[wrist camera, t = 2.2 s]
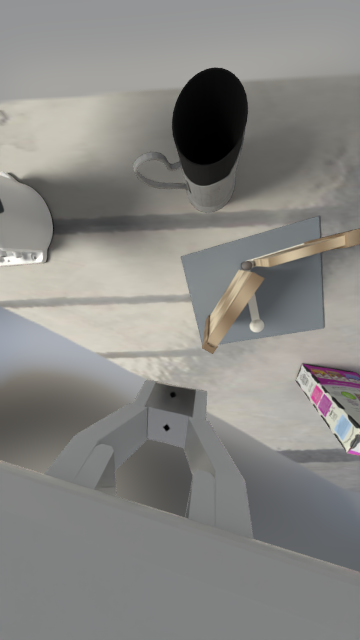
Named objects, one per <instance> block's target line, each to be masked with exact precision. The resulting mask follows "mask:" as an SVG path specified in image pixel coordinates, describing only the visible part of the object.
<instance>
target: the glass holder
mask: <svg viewBox="0 0 360 640" xmlns="http://www.w3.org/2000/svg"><path fill="white" fill-rule="evenodd" d="M247 115H248V103H247V97H246V93H245V90H244V87H243V85H242V84H241V82H240V80H239V79H238V78H237V77H236V76H235V75H234V74H233V73H231V72H230V71H228V70H225V69H223V68H209V69H206V70H204V71H201V72H200V73H198V74H196V75H195V76H194V77H193V78H192V79H190V80H189V81H188V83H187V84H186V85H185V87H184V88H183V89H182V91H181V93H180V95H179V97H178V99H177V102H176V104H175V108H174V112H173V119H172V130H173V137H174V141H175V144H176V148H177V151H178V154H179V158H180V161H179V162H177V163H174V164H170V163H168V161H167V159H166V157H165V156H164V155H162V154H161V153H158V152H149V153H145V154H143V155H141V156H140V157H138V158H137V159H136V160H135V162H134V167H133V169H134V172H135V174H136V176H137V178H139V179H140V180H141V181H142V182H143V183H145V184H147V185H149V186H152V187H155V188H163V189H186V190H187V195H188V198H189V200H190V202H191V204H192V205H193V206H194V207H195V208H196V209H198V210H199V211H202V212H206V213H207V212H215V211H217V210H219V209H221V208H222V207H223V206H224V205H226V203H227V202H228V201H229V200H230V198H231V196H232V194H233V191H234V187H235V173H236V169H237V165H238V161H239V157H240V153H241V149H242V145H243V141H244V135H245V126H246V122H247ZM150 160H158V161H161V162H163V163H164V164H165V165H166V167H167V169H168V170H171V171H173V170H177V169H180V168H182V172H183V175H184V178H185V181H186V184H181V183H159V182H154V181H151V180H149V179H147V178H145V177H143V176H142V175H141V174H140V173H139V172H138V171H137V168H138V167H139V166H140V165H141V164H143V163H144V162H146V161H150Z"/></svg>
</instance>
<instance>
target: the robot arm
mask: <svg viewBox="0 0 360 640" xmlns="http://www.w3.org/2000/svg"><path fill="white" fill-rule="evenodd" d="M52 234H53V224H52V218H51V214H50V212H49V209H48V207H47V205H46V203H45V201H44V200H43V198H42V197H41V196H40V195H39V194H38V193H37V192H36V191H35V190H34V189H33V188H31V187H29V186H27V185H25V184H22V183H20V182H18V181H16V180H15V179H14V178H13V177H12V176H11V175H9V174H8V173H5V172H0V266H15V265H26V264H38V263H45V262H46V260H47V249H48V247H49V244H50V242H51V239H52ZM206 405H207V391H204V390H198V389H192V388H187V387H181V386H176V385H172V384H167V383H163V382H159V381H153V380H149V379H147V380H146V381H145V383H144V384H143V386H142V388H141V390H140V391H139V393H138V395H137V397H136V398H135V400H134V402H133V404H130V403H129V404H127V405H125V406H124V407H122V408H120V409H119V410H117V411H115V412H114V413H112V414H110V415H108V416H107V417H105V418H103V419H102V420H100V421H98V422H97V423H95V424H93V425H92V426H90V427H88V428H86V429H85V430H83V431H81V432H79V433H78V434H76V435H75V436H74V437H73V438H72V440H71V441H70V442H69V443H68V445H67V446H66V447H65V449H64V450H63V451H62V452H61V453H60V455H59V456H58V457H57V459H56V460H55V461H54V462H53V464H52V465H51V466H50V467H49V469H48V470H47V471H46V472H45V474H43V473H39V472H36V471H33V470H30V469H27V468H23V467H20V466H17V465H14V464H10V463H7V462H4V461H1V460H0V640H360V572H357V571H354V570H351V569H348V568H345V567H342V566H338V565H335V564H332V563H328V562H325V561H322V560H319V559H315V558H312V557H309V556H306V555H303V554H300V553H296V552H293V551H290V550H287V549H284V548H280V547H277V546H274V545H270V544H268V543H264V542H261V541H258V540H255V539H253V533H252V526H251V519H250V512H249V505H248V498H247V492H246V484H245V480H244V478H243V477H242V475H241V473H240V472H239V470H238V468H237V467H236V465H235V463H234V462H233V460H232V459H231V457H230V455H229V453H228V452H227V450H226V448H225V447H224V445H223V443H222V442H221V440H220V438H219V437H218V435H217V434H216V432H215V430H214V428H213V427H212V425H211V423H210V422H209V421H206ZM147 439H150V440H155V441H159V442H164V443H168V444H171V445H175V446H178V447H182V448H184V451H185V454H186V457H187V460H188V463H189V466H190V469H191V472H192V475H193V478H192V484H191V489H190V494H189V499H188V505H187V510H186V516H185V518H184V517H181V516H178V515H174V514H171V513H168V512H165V511H162V510H159V509H155V508H152V507H149V506H146V505H143V504H139V503H136V502H133V501H130V500H126V499H123V498H120V497H117V496H116V479H115V470H116V469H117V468H119V466H120V465H122V463H124V461H125V460H126V459H128V458H129V457H130V456H131V455H132V454H133V453H134V452H135V451H136V450H137V449H138V448H139V447H140V446H141V445H142V444H143V443H144V442H145V441H146V440H147Z"/></svg>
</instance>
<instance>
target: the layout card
mask: <svg viewBox="0 0 360 640" xmlns="http://www.w3.org/2000/svg"><path fill="white" fill-rule="evenodd" d="M318 238H320V225H319V216H317V217H314V218H310V219H307V220H303V221H300V222H297V223H293V224H290V225H286V226H283V227H280V228H276V229H273V230H269V231H266V232H263V233H259V234H256V235H252V236H249V237H246V238H242V239H239V240H235V241H232V242H229V243H225V244H222V245H218V246H215V247H212V248H208V249H205V250H202V251H198V252H195V253H191V254H188V255H185V256H181V260H182V264H183V268H184V272H185V276H186V280H187V284H188V288H189V293H190V297H191V301H192V305H193V309H194V313H195V317H196V321H197V325H198V329H199V333H200V338H201V342H202V345H203V337H204V329H205V321H206V319H207V317H208V316H210V315H211V313H212V312H213V310H214V309H215V307H216V305H217V304H218V302H219V301H220V299H221V297H222V296H223V294H224V293H225V291H226V289H227V288H228V286H229V285H230V283H231V281H232V280H233V278H234V277H235V275H236V274H237V272H238V270H243V269H241V263H242V262H244V261H250V262H251V263H252V268H251V269H250V270H243V271H247V272H254V273H256V274H257V275H259V276H261V277H263V278H265V279H264V280H263V281H262V283H261V284H260V286H259V287H258V289H257V290H256V291H255V293H254V294H253V296H252V297H251V299H250V300H249V301H248V303H247V304H246V306H245V307H244V309H243V310H242V311H241V313H240V314H239V316H238V317H237V319H236V320H235V322H234V323H233V324H232V326H231V327H230V329H229V330H228V332H227V333H226V334H225V336H224V337H223V339H222V340H221V342H220V343H219V344H225V343H232V342H238V341H245V340H251V339H258V338H264V337H270V336H277V335H283V334H290V333H296V332H303V331H309V330H316V329H322V328H324V324H323V299H322V275H321V252H320V253H317V254H313V255H310V256H306V257H303V258H299V259H296V260H292V261H289V262H285V263H282V264H278V265H275V266H272V267H263V266H254V263H253V260H254V259H258V258H261V257H264V256H267V255H271V254H274V253H277V252H280V251H284V250H287V249H290V248H294V247H297V246H300V245H303V244H304V242H307V241H310V240H314V239H318ZM219 344H218V345H219Z"/></svg>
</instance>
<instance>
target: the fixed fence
mask: <svg viewBox="0 0 360 640" xmlns="http://www.w3.org/2000/svg"><path fill="white" fill-rule="evenodd" d="M358 244H360V228H359V229H355V230H351V231H347V232H343V233H339V234H334V235H330V236H326V237H322V238H318V239H314V240H310V241H307V242H304V244H303V245H300V246H297V247H294V248H290V249H287V250H284V251H280V252H277V253H274V254H271V255H267V256H264V257H261V258H258V259H254V260H253V263H254V266H263V267H272V266H275V265H278V264H282V263H285V262H289V261H292V260H296V259H299V258H303V257H306V256H310V255H313V254H317V253H320V252H323V251H327V250H330V249H338V248H346V247H351V246H355V245H358ZM251 268H252V263H251V262H250V261H244V262H242V263H241V269H243V270H250V269H251Z"/></svg>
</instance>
